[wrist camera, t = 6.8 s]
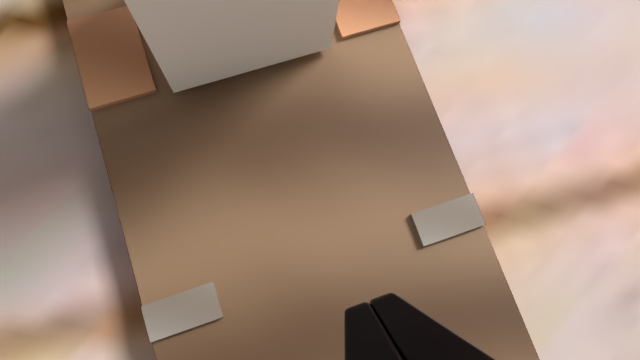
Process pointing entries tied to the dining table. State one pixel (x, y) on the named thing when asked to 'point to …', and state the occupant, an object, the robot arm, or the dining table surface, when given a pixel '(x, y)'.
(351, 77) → the brown flat wooden board
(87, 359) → the dining table surface
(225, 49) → the white tall block
